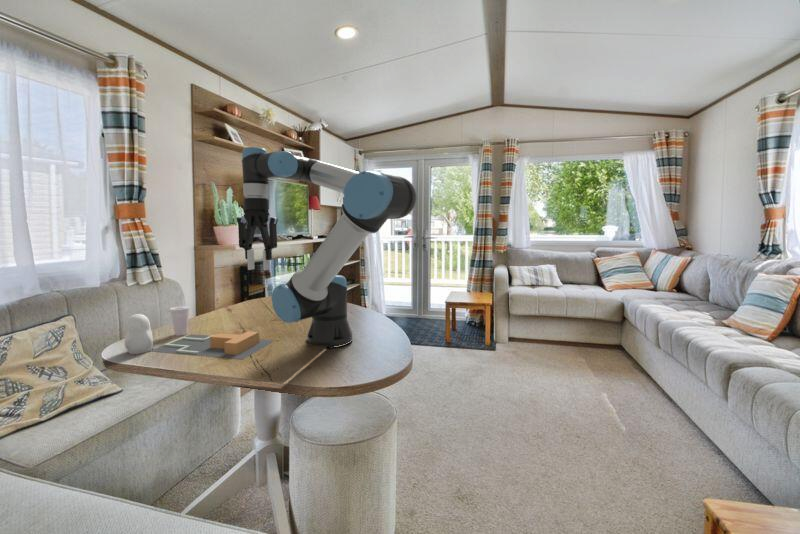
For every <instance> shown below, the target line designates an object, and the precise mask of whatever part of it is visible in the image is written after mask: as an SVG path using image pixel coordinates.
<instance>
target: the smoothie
mask: <svg viewBox="0 0 800 534" xmlns="http://www.w3.org/2000/svg"><path fill="white" fill-rule="evenodd" d="M178 298H179V306H173V307H170V308H169V309H168V311H169V312H168V313H170V318H171V320H172V321H171V323H172V326H173V330H174V336H176V337H181V336H182V337H183V336H185V335H188V325H189V315H190V310H191V307H190V306H189V305H182V303H183V302H182V295H179V297H178Z"/></svg>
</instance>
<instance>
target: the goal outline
mask: <svg viewBox="0 0 800 534" xmlns="http://www.w3.org/2000/svg"><path fill="white" fill-rule="evenodd" d="M213 335H214V334H212V335H208V336H209V337H207V338H204V339H203V338H190V337H186V336H182V337H179V338H177V339H174V340H171V341H170V342H166V343H164V344H163V345H164V346H167V347H179V348H181V349H179V350H176V352H178V353H189V354H199V351H189V350H186V349H188V348H190V346H189V345H176V344H174V343H176V342H179V341H181V340H195V341H206V340H209V339H210V337H211V336H213Z"/></svg>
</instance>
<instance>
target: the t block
mask: <svg viewBox="0 0 800 534" xmlns="http://www.w3.org/2000/svg"><path fill="white" fill-rule="evenodd" d="M212 335H213V336H211V335H210V336H211V337H210V348H220V349H225V354H232V355H238V354H239V353H241V352H243V351H245V350H247V349H248V348H250V347H252V346H254V345H256V344H257V343H259V339H260V332H258V331H249V330H247V331H245V332H244V333H241V334H233V333H220V332H219V333H215V334H212Z"/></svg>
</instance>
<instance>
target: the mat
mask: <svg viewBox="0 0 800 534" xmlns="http://www.w3.org/2000/svg"><path fill="white" fill-rule="evenodd" d="M209 336H210V335H206V334H195V333H192V334H189V335H188V334H187V336H185V337H190V338H203V339H204V338H207V337H209ZM275 341H276V340H274V339H260V338H259V343H257V344H256V345H254V346H252V347H250V348H248V349H247V350H245V351H243V352H241V353H239V354H238V355H232V354H225V349H220V348H210V339H209V340H206V341H195V340H181V341H179V342H176V343H174V344H176V345H189V346H190V348H188V349H186V350H189V351H199V354H189V353H178V352H176V350H179V349H181V348H179V347H167V346H164V344H162V345H160V346H158V347H155V348H152V350H150V351H148V352H147V353H163V354H172V355H173V354H174V355H182V356H183V355H184V356H185V355H186V356H195V357H196V356H197V357H206V358H207V357H208V358H217V359H218V358H220V359H231V360H244V359H246V358H248V357H250V356H251V355H253V354H255V353H257V352H258V351H260V350H262V349H264V348H266V346H269V345H271V344H272V343H274V342H275Z"/></svg>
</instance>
